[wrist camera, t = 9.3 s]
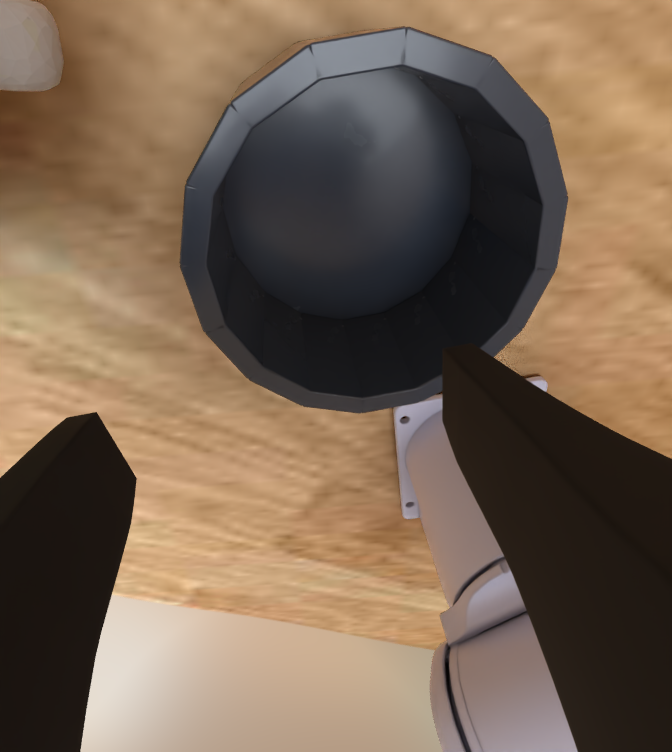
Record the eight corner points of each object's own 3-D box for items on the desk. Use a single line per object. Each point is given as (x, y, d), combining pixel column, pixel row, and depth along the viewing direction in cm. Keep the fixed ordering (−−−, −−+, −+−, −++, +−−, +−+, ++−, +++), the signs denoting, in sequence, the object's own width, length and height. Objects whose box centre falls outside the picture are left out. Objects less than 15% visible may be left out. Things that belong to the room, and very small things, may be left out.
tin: (477, 304, 21) (539, 381, 16) (247, 346, 21) (241, 436, 16) (493, 7, 15) (602, -9, 10) (162, 65, 14) (110, 77, 10)
